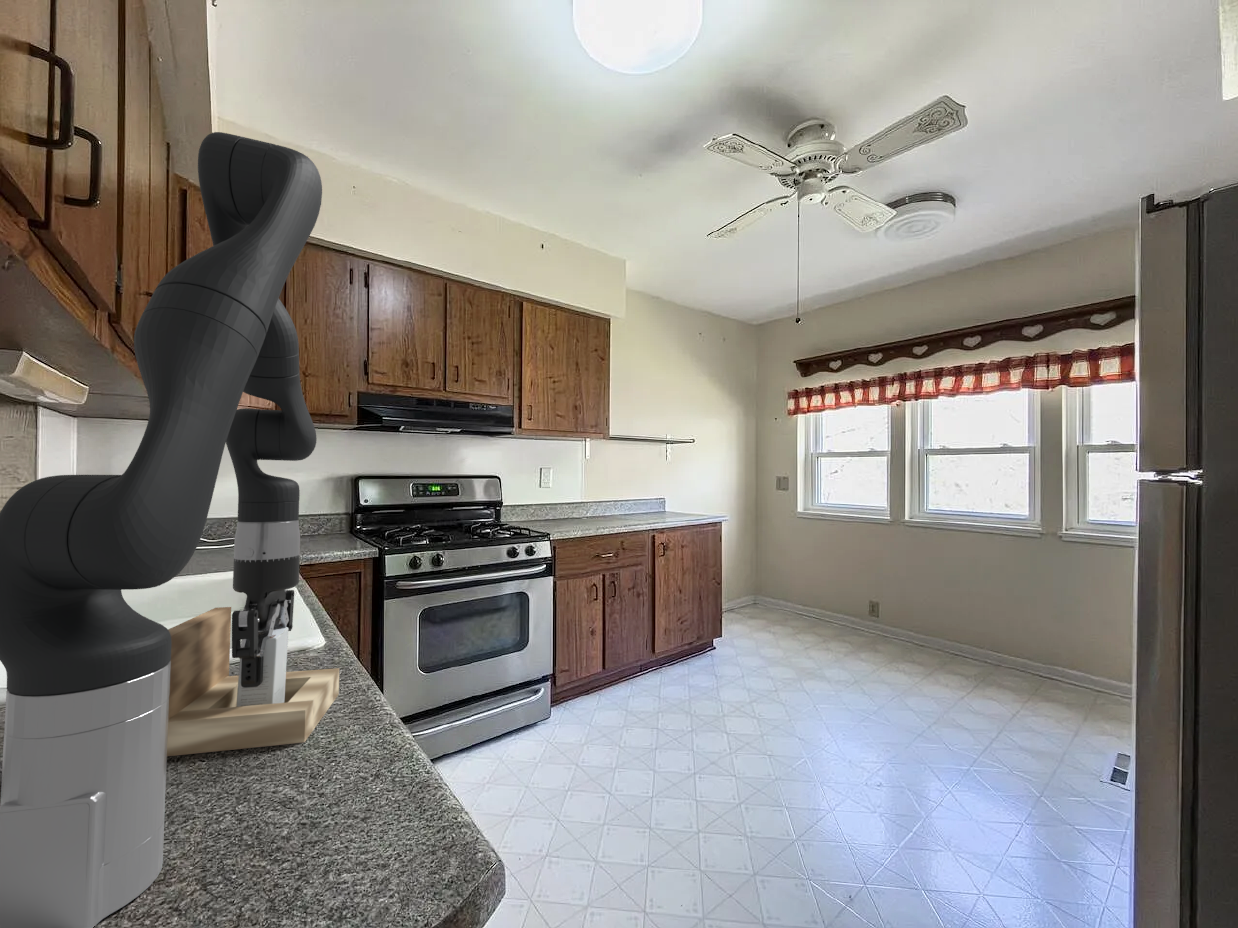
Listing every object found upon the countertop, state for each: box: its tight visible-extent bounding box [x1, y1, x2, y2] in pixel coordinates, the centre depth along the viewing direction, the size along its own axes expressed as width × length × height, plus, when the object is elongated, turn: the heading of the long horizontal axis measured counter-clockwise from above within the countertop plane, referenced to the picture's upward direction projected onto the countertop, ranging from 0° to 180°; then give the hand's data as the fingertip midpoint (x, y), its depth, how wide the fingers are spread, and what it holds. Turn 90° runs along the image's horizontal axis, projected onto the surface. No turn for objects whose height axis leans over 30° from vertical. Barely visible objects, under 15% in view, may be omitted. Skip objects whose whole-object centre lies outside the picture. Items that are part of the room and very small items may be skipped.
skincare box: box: [236, 627, 289, 707], centre depth 70 cm, size 6×4×12 cm
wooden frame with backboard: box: [167, 606, 340, 757], centre depth 70 cm, size 16×17×14 cm
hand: (263, 675), depth 70 cm, fingers open, 6 cm apart
